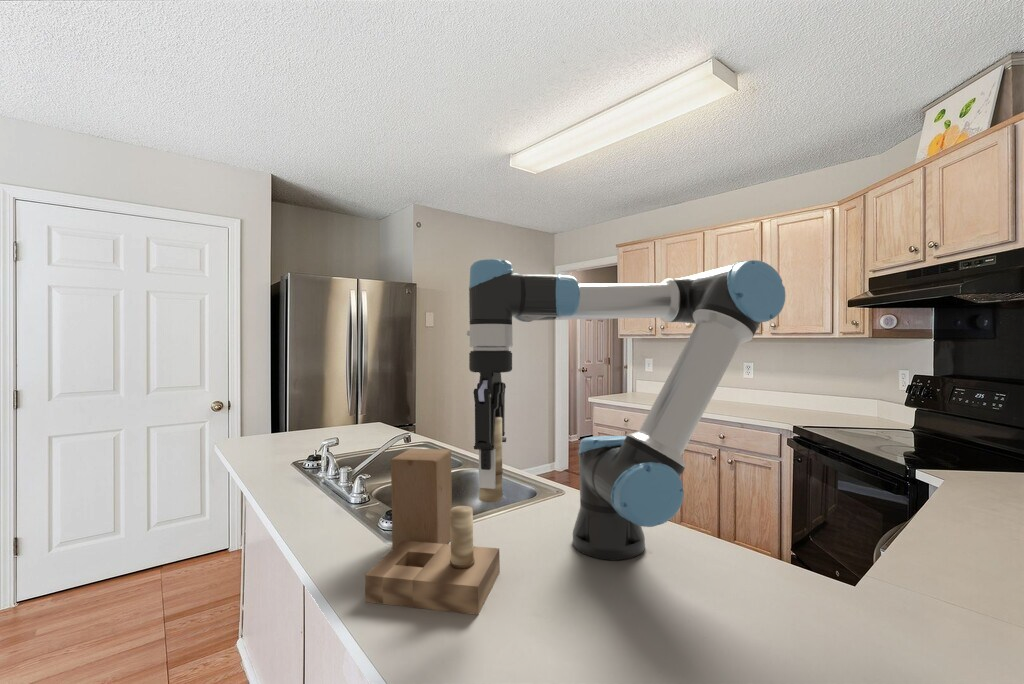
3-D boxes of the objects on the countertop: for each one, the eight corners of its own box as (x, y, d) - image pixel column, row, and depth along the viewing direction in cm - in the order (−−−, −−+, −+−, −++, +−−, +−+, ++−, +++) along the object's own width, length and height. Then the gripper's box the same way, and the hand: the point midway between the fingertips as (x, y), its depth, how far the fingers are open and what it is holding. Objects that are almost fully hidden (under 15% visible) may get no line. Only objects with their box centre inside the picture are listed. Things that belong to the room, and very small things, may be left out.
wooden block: (437, 558, 93) (435, 460, 93) (391, 555, 95) (390, 458, 95) (453, 538, 103) (451, 449, 103) (411, 535, 105) (410, 448, 105)
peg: (505, 495, 81) (505, 416, 81) (499, 503, 77) (499, 420, 77) (482, 493, 82) (482, 416, 82) (475, 501, 78) (475, 419, 78)
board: (499, 572, 87) (498, 498, 87) (478, 614, 73) (476, 527, 73) (402, 563, 91) (401, 492, 91) (365, 601, 77) (364, 519, 78)
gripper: (482, 349, 89) (482, 469, 89) (454, 349, 72) (454, 497, 72) (520, 349, 88) (520, 471, 87) (500, 349, 71) (500, 501, 70)
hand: (490, 483), depth 80 cm, fingers closed on peg, 4 cm apart
